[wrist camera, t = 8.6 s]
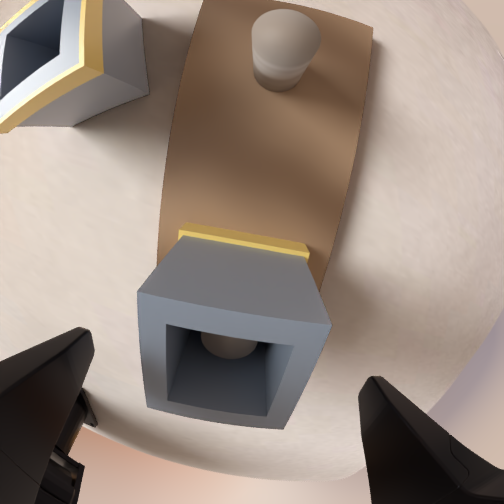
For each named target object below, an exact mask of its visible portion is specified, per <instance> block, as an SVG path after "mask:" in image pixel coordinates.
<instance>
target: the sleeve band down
mask: <svg viewBox="0 0 504 504" xmlns="http://www.w3.org/2000/svg"><path fill="white" fill-rule="evenodd" d="M309 254H310V252H309V250H308V249H307V247H306V245H305V244H304V243H299V242H293V241H288V240H283V239H278V238H272V237H267V236H261V235H256V234H250V233H245V232H239V231H234V230H228V229H222V228H217V227H211V226H205V225H199V224H193V223H188V222H186V223H185V224H184V225H183V226H182V227H181V228H180V229H179V235H178V242H177V243H176V244H175V245H174V247H173V248H172V249H171V250H170V251H169V252H168V254H167V255H166V256H165V257H164V259H163V260H162V261H161V262H160V263H159V265H158V266H157V267H156V268H155V270H154V271H153V272H152V273H151V275H150V276H149V277H148V278H147V280H146V281H145V282H144V283H143V285H142V286H141V287H140V288H139V290H138V291H137V306H138V327H139V342H140V354H141V364H142V373H143V381H144V389H145V396H146V403H147V407H148V408H152V409H156V410H159V411H163V412H167V413H171V414H176V415H180V416H185V417H189V418H194V419H200V420H205V421H211V422H217V423H223V424H230V425H238V426H246V427H256V428H268V429H284V427H285V425H286V424H287V422H288V420H289V418H290V416H291V414H292V412H293V410H294V408H295V406H296V404H297V402H298V400H299V398H300V396H301V394H302V392H303V390H304V388H305V386H306V384H307V382H308V380H309V378H310V376H311V373H312V371H313V369H314V367H315V365H316V362H317V360H318V358H319V356H320V353H321V351H322V349H323V346H324V344H325V342H326V339H327V337H328V334H329V332H330V330H331V327H332V323H331V321H330V318H329V316H328V313H327V311H326V308H325V306H324V303H323V301H322V298H321V296H320V293H319V291H318V289H317V286H316V284H315V281H314V279H313V277H312V274H311V272H310V270H309V267H308V265H307V262H308V258H309ZM201 331H202V332H207V333H212V334H218V335H223V336H229V337H235V338H241V339H248V340H254V341H258V342H257V345H256V347H255V349H254V350H253V351H252V352H251V353H250V354H249V355H247V356H245V357H243V358H239V359H224V358H220V357H218V356H215V355H214V354H212V353H211V352H209V351H208V350H207V349H206V348H205V346H204V345H203V343H202V340H201Z"/></svg>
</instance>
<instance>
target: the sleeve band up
mask: <svg viewBox="0 0 504 504" xmlns="http://www.w3.org/2000/svg"><path fill="white" fill-rule="evenodd" d="M148 94H150V93H149V86H148V78H147V70H146V62H145V52H144V42H143V30H142V18H141V17H140V16H139V15H138V14H137V13H136V12H135V11H134V10H133V9H132V8H131V7H130V6H129V5H128V4H127V3H126V2H125V1H124V0H32V1H31V2H29V3H28V4H27V5H26V6H24V7H23V8H22V9H21V10H20V11H18V12H17V13H16V14H15V15H14V16H13V17H12V18H11V19H10V20H8V21H7V22H6V23H5V24H4V25H3V26H2V27H1V28H0V134H2V133H8V132H10V131H11V130H12V129H14V128H15V127H23V126H54V127H72V126H74V125H76V124H78V123H80V122H82V121H84V120H87V119H89V118H91V117H93V116H95V115H97V114H100V113H102V112H104V111H107V110H109V109H111V108H114V107H116V106H119V105H121V104H124V103H126V102H129V101H132V100H134V99H137V98H140V97H143V96H146V95H148Z"/></svg>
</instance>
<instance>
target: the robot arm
mask: <svg viewBox="0 0 504 504" xmlns="http://www.w3.org/2000/svg"><path fill="white" fill-rule="evenodd" d="M94 352H95V350H94V344H93V339H92V334H91V332H90V330H88V329H85V328H82V327H77V328H75V329H72V330H70V331H68V332H66V333H63V334H61V335H59V336H56V337H54V338H52V339H50V340H47V341H45V342H43V343H41V344H38V345H36V346H34V347H32V348H29V349H27V350H25V351H23V352H20V353H18V354H16V355H14V356H11V357H9V358H7V359H5V360H2V361H0V504H77V501H78V497H79V492H80V487H81V482H82V477H83V472H84V468H85V466H84V465H82V464H81V463H78V462H76V461H75V460H73V459H72V458H70V457H69V456H68V454H69V452H70V450H71V447H72V445H73V443H74V441H75V439H76V437H77V435H78V433H79V431H80V429H81V427H82V425H83V423H85V424H88V425H90V426H92V427H96V426H97V422H96V419H95V417H94V415H93V412H92V410H91V408H90V405H89V403H88V400H87V398H86V395H85V393H84V391H83V390H82V389H81V388H82V385H83V382H84V380H85V377H86V374H87V372H88V369H89V366H90V364H91V361H92V359H93V356H94ZM358 401H359V412H360V425H361V436H362V442H363V448H364V454H365V460H366V466H367V472H368V479H369V486H370V494H371V502H372V504H504V470H502V469H499V468H497V467H495V466H493V465H492V464H490V463H489V462H487V461H486V460H484V459H483V458H481V457H480V456H478V455H477V454H475V453H474V452H472V451H471V450H469V449H468V448H467V447H465V446H464V445H463V444H461V443H460V442H459V441H458V440H456V439H455V438H454V437H453V436H452V435H449V433H448V432H447V431H446V430H444V429H443V428H442V427H441V426H440V425H438V424H437V423H436V422H435V421H434V420H432V419H431V418H430V417H429V416H428V415H427V414H425V413H424V412H423V411H422V410H421V409H419V408H418V407H417V406H416V405H415V404H414V403H412V402H411V401H410V400H409V399H408V398H406V397H405V396H404V395H403V394H402V393H401V392H399V391H398V390H397V389H396V388H395V387H394V386H392V385H391V384H390V383H389V382H388V381H387V380H385V379H384V378H383V377H382V376H370V377H369V378H368V379H367V381H366V382H365V384H364V386H363V387H362V389H361V390H360V392H359V396H358Z"/></svg>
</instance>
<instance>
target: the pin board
mask: <svg viewBox="0 0 504 504" xmlns="http://www.w3.org/2000/svg"><path fill="white" fill-rule="evenodd" d="M372 36H373V27H370V26H367V25H365V24H362V23H359V22H357V21H354V20H351V19H348V18H345V17H342V16H338V15H335V14H332V13H328V12H325V11H321V10H317V9H313V8H309V7H305V6H301V5H296V4H291V3H286V2H280V1H274V0H203V3H202V6H201V9H200V12H199V15H198V19H197V22H196V25H195V28H194V32H193V35H192V39H191V42H190V46H189V49H188V53H187V57H186V61H185V65H184V69H183V73H182V77H181V82H180V86H179V91H178V96H177V100H176V105H175V110H174V116H173V121H172V127H171V132H170V138H169V145H168V151H167V158H166V165H165V173H164V181H163V189H162V199H161V209H160V220H159V233H158V249H157V266H158V265H159V263H160V262H161V261H162V260H163V259H164V257H165V256H166V255H167V254H168V252H169V251H170V250H171V249H172V248H173V247H174V245H175V244H176V243H177V242H178V235H179V229H180V228H181V227H182V226H183V225H184V224H185V223H186V222H188V223H193V224H199V225H205V226H211V227H217V228H222V229H228V230H234V231H239V232H245V233H250V234H256V235H261V236H267V237H272V238H278V239H283V240H288V241H293V242H299V243H304V244H305V245H306V247H307V249H308V250H309V252H310V254H309V258H308V262H307V265H308V267H309V270H310V272H311V274H312V277H313V279H314V281H315V284H316V286H317V289H318V291H320V288H321V285H322V281H323V278H324V275H325V272H326V268H327V265H328V262H329V258H330V255H331V251H332V248H333V244H334V241H335V237H336V233H337V230H338V226H339V222H340V218H341V214H342V210H343V206H344V202H345V198H346V194H347V190H348V186H349V181H350V177H351V172H352V168H353V163H354V158H355V153H356V148H357V143H358V138H359V132H360V127H361V121H362V115H363V109H364V103H365V96H366V89H367V82H368V75H369V66H370V57H371V48H372ZM201 340H202V343H203V345H204V346H205V348H206V349H207V350H208V351H209V352H211V353H212V354H214V355H215V356H218V357H220V358H224V359H239V358H243V357H245V356H247V355H249V354H250V353H251V352H252V351H253V350H254V349H255V347H256V345H257V342H258V341H254V340H248V339H241V338H235V337H229V336H223V335H218V334H212V333H207V332H202V331H201Z"/></svg>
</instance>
